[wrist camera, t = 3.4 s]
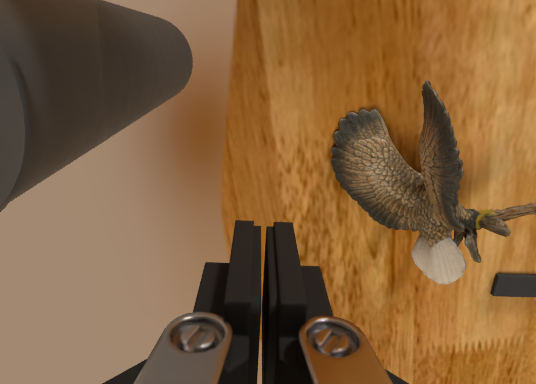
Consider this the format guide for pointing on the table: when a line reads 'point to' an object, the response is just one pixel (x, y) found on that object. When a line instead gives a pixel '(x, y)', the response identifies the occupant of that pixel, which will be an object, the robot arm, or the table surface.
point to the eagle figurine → (416, 187)
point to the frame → (514, 285)
